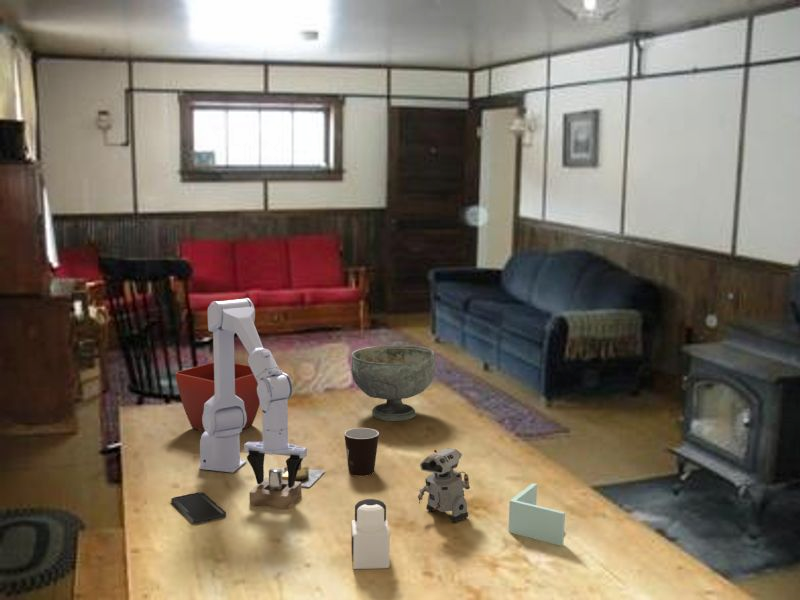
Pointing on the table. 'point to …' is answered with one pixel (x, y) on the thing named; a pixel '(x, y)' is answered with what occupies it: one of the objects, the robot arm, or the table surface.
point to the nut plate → (309, 477)
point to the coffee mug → (361, 450)
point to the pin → (275, 479)
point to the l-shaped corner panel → (535, 518)
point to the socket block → (275, 495)
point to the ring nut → (301, 472)
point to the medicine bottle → (370, 536)
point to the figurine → (445, 484)
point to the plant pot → (200, 388)
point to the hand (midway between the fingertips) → (275, 484)
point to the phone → (198, 508)
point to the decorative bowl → (393, 376)
